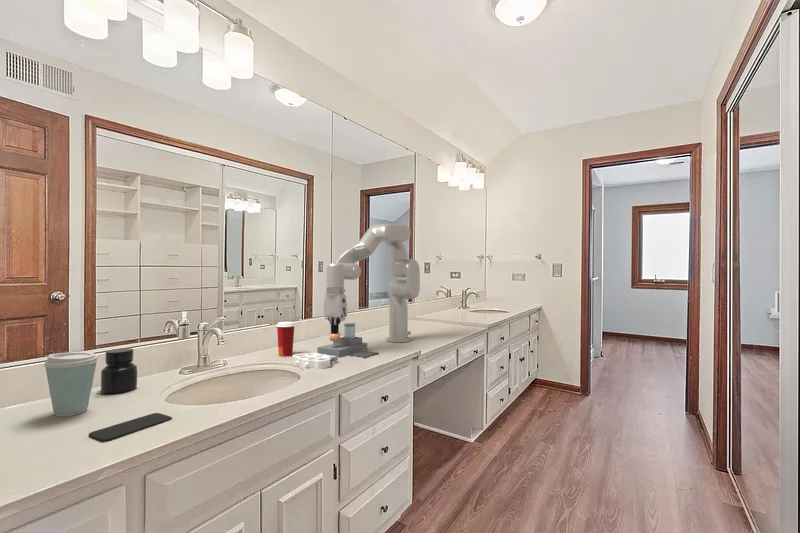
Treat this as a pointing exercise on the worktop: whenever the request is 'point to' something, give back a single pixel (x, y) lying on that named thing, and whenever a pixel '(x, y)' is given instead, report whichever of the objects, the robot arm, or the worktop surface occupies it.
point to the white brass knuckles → (314, 360)
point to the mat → (364, 354)
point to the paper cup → (285, 338)
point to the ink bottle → (118, 372)
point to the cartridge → (349, 331)
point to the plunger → (335, 339)
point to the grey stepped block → (343, 347)
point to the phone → (128, 427)
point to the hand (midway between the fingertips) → (334, 333)
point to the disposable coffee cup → (70, 381)
